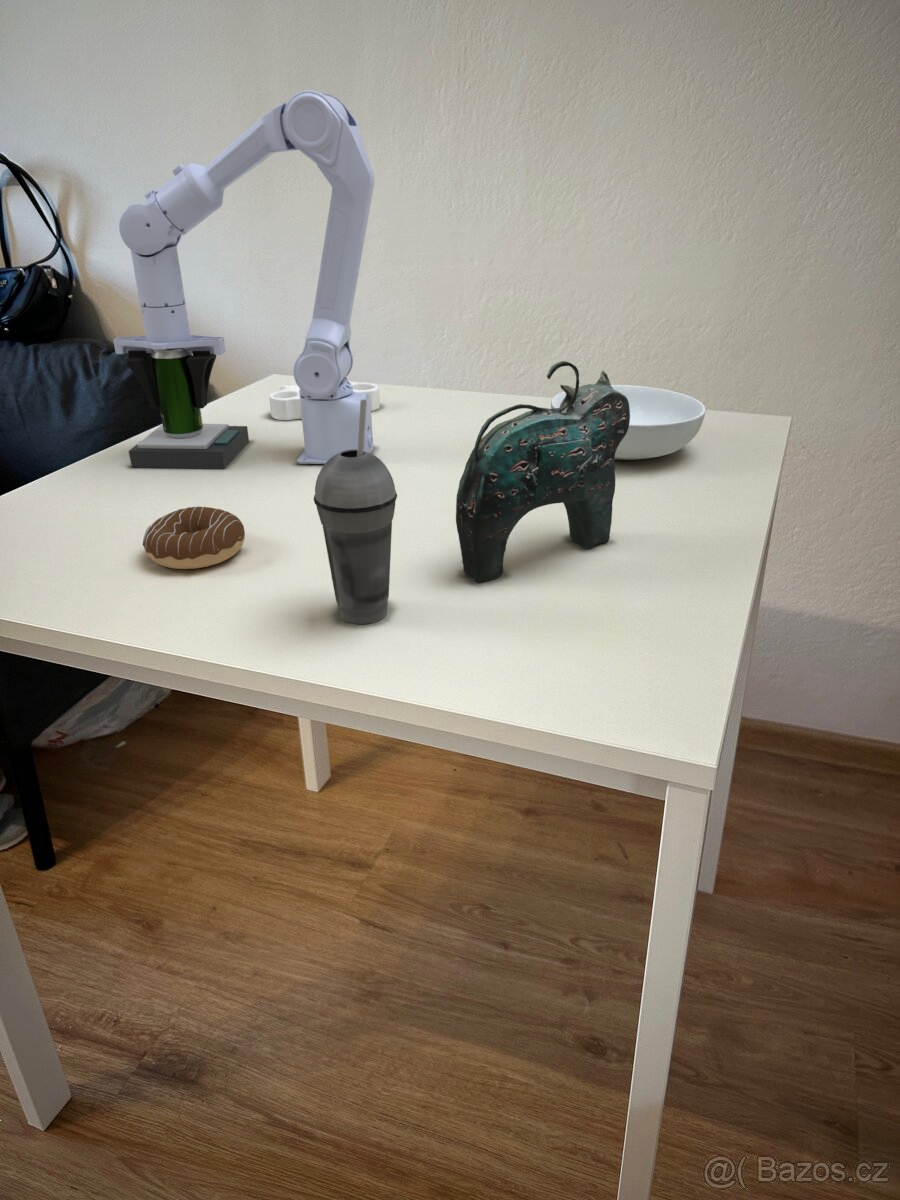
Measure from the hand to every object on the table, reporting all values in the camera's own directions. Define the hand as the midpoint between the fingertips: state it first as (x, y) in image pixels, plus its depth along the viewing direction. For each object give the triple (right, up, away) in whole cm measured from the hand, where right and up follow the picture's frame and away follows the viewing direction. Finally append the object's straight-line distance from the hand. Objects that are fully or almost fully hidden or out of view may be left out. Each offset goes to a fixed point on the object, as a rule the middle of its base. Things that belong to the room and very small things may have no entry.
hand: (179, 406), depth 119 cm
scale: (+1, -6, +3) cm, 7 cm away
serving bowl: (+62, -6, +2) cm, 62 cm away
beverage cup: (+29, -28, -39) cm, 56 cm away
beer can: (0, -4, +2) cm, 4 cm away
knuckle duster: (+17, +5, +23) cm, 29 cm away
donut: (+10, -22, -27) cm, 36 cm away
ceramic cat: (+47, -22, -28) cm, 60 cm away
